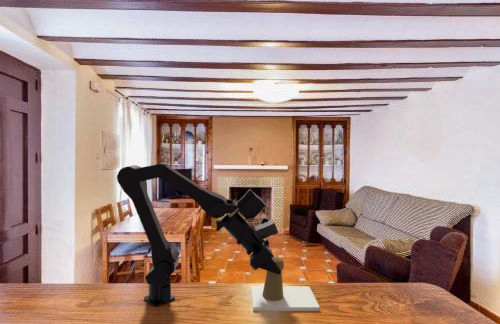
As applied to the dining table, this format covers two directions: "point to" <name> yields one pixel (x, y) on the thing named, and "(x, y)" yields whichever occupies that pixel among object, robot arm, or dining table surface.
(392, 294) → the dining table surface
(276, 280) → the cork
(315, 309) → the white board
